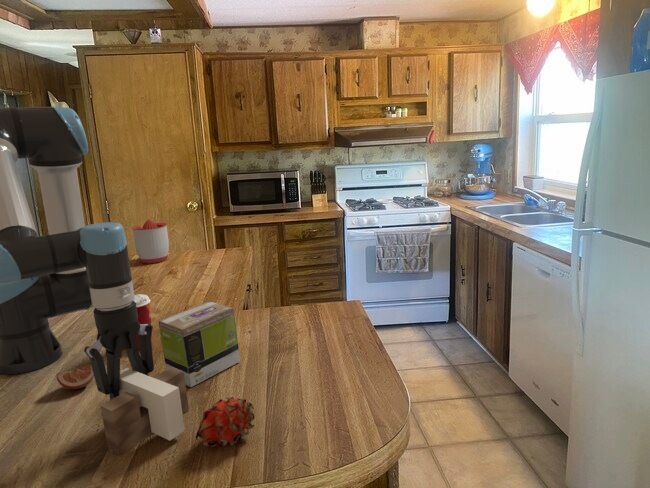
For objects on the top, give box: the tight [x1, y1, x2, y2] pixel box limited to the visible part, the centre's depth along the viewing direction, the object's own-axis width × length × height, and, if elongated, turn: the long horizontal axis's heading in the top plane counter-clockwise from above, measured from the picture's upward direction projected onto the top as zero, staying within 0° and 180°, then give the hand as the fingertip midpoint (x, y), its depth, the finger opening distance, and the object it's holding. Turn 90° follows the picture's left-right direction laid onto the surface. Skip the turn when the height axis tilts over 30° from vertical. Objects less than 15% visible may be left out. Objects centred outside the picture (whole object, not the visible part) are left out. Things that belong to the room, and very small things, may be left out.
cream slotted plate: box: [120, 367, 186, 441], centre depth 91 cm, size 16×4×9 cm, turn 56°
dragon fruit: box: [195, 396, 255, 447], centre depth 87 cm, size 8×8×12 cm
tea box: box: [158, 300, 241, 388], centre depth 113 cm, size 15×10×15 cm
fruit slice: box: [55, 363, 95, 390], centre depth 109 cm, size 8×7×5 cm
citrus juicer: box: [131, 219, 170, 265], centre depth 222 cm, size 16×17×20 cm
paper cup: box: [133, 293, 154, 352], centre depth 128 cm, size 8×8×14 cm
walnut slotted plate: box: [99, 367, 190, 456], centre depth 91 cm, size 16×4×9 cm, turn 146°
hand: (132, 413), depth 95 cm, fingers closed on cream slotted plate, 3 cm apart
